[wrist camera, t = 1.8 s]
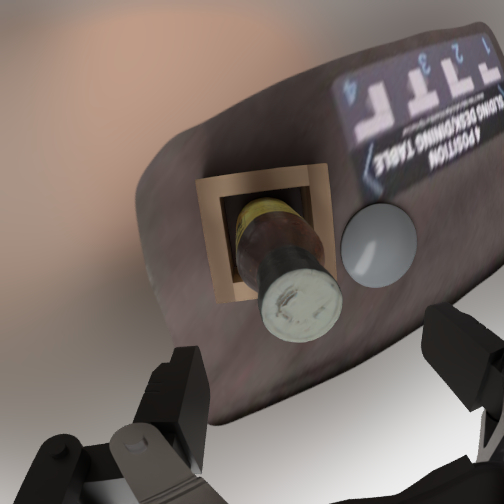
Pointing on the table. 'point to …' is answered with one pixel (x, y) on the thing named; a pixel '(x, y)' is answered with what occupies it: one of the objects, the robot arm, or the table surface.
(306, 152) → the table surface
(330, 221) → the walnut holder
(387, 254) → the slate coaster
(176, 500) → the robot arm
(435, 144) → the table surface
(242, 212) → the sauce bottle
